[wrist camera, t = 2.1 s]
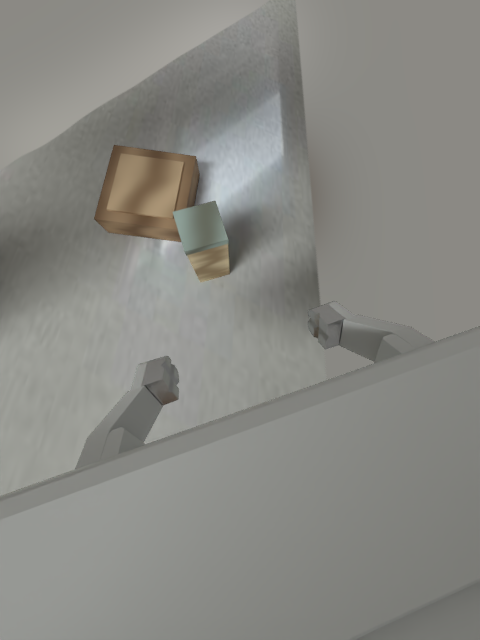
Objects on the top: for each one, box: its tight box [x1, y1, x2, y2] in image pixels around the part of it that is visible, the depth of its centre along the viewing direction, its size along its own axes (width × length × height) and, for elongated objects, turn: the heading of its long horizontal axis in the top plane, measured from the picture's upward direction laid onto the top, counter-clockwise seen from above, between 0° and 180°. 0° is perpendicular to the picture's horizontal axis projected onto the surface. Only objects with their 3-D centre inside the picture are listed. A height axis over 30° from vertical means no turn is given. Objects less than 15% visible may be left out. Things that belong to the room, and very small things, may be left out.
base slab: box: [94, 145, 199, 242], centre depth 28 cm, size 12×12×3 cm
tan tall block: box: [173, 201, 230, 282], centre depth 24 cm, size 5×5×9 cm
